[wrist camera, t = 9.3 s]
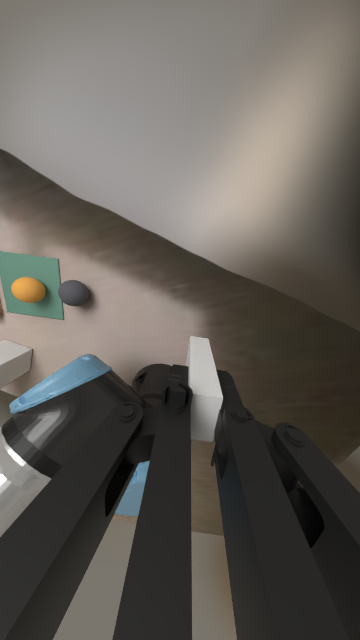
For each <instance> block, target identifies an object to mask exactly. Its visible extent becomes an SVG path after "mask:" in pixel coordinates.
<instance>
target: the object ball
mask: <svg viewBox="0 0 360 640" xmlns="http://www.w3.org/2000/svg"><path fill="white" fill-rule="evenodd" d="M11 291H12V293H13V295H14V296H15V297H16V298H17V299H18V300H20V301H23V302H26V303H35V302H38V301H40V300H41V299H43V298H44V296H45V293H46V290H45V287H44V285H43V284H42V283H41V282H40V281H39V280H37V279H34V278H31V277H22V278H19V279H17V280H15V281H14V282H13V284H12V286H11Z"/></svg>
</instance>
